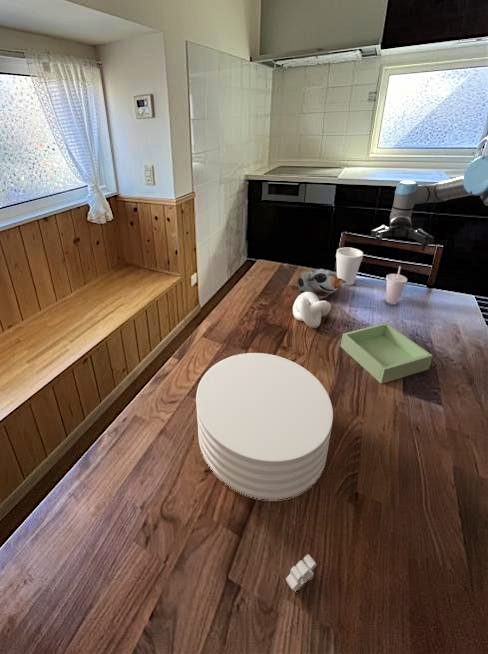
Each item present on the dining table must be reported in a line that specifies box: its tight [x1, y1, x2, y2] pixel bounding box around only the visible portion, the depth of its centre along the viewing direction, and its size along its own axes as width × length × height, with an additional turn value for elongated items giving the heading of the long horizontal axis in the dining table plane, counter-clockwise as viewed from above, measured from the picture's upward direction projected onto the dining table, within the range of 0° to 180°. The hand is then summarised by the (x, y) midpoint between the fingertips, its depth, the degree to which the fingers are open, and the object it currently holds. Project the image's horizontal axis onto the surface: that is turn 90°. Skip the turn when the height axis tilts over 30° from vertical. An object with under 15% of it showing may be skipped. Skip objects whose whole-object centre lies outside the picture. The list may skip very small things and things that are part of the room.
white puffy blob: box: [292, 292, 332, 329], centre depth 111 cm, size 11×12×9 cm
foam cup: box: [335, 246, 364, 286], centre depth 133 cm, size 10×9×13 cm
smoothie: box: [385, 265, 408, 305], centre depth 118 cm, size 6×6×14 cm
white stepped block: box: [285, 553, 318, 593], centre depth 52 cm, size 5×1×4 cm, turn 120°
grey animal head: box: [296, 268, 346, 301], centre depth 125 cm, size 15×12×14 cm
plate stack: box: [195, 352, 334, 502], centre depth 74 cm, size 28×28×12 cm
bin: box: [340, 322, 434, 384], centre depth 95 cm, size 16×16×5 cm
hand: (401, 244), depth 121 cm, fingers open, 13 cm apart
